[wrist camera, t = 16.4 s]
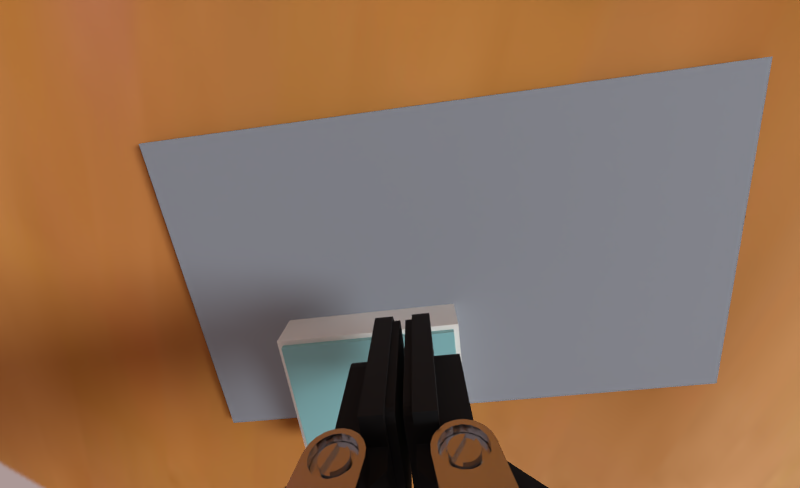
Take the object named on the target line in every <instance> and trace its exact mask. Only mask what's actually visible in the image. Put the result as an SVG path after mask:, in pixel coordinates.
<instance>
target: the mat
mask: <svg viewBox="0 0 800 488" xmlns="http://www.w3.org/2000/svg"><path fill="white" fill-rule="evenodd" d="M771 62H772V57H766V58H759V59H751V60H744V61H737V62H730V63H722V64H715V65H708V66H701V67H693V68H686V69H679V70H672V71H664V72H657V73H650V74H643V75H635V76H628V77H621V78H614V79H606V80H599V81H592V82H584V83H577V84H570V85H563V86H555V87H548V88H541V89H534V90H526V91H519V92H512V93H505V94H497V95H490V96H483V97H476V98H468V99H461V100H454V101H447V102H439V103H432V104H425V105H418V106H410V107H403V108H396V109H389V110H381V111H374V112H367V113H360V114H352V115H345V116H338V117H331V118H323V119H316V120H309V121H302V122H294V123H287V124H280V125H273V126H265V127H258V128H251V129H244V130H236V131H229V132H222V133H215V134H207V135H200V136H193V137H186V138H178V139H171V140H164V141H157V142H149V143H142V144H139V146H140V149H141V152H142V155H143V158H144V161H145V164H146V167H147V170H148V172H149V175H150V178H151V181H152V184H153V187H154V190H155V193H156V196H157V199H158V202H159V205H160V208H161V211H162V214H163V217H164V219H165V222H166V225H167V228H168V231H169V234H170V237H171V240H172V243H173V246H174V249H175V252H176V255H177V258H178V261H179V264H180V266H181V269H182V272H183V275H184V278H185V281H186V284H187V287H188V290H189V293H190V296H191V299H192V302H193V305H194V308H195V311H196V313H197V316H198V319H199V322H200V325H201V328H202V331H203V334H204V337H205V340H206V343H207V346H208V349H209V352H210V355H211V358H212V360H213V363H214V366H215V369H216V372H217V375H218V378H219V381H220V384H221V387H222V390H223V393H224V396H225V399H226V402H227V405H228V408H229V410H230V413H231V416H232V419H233V422H234V423H237V422H249V421H261V420H273V419H285V418H297V414H296V411H295V407H294V403H293V400H292V396H291V392H290V388H289V385H288V381H287V377H286V374H285V370H284V366H283V363H282V359H281V355H280V352H279V348H278V344H277V340H278V339H279V337H280V336H281V334H282V332H283V331H284V329H285V327H286V326H287V324H288V322H289V321H290V320H298V319H308V318H318V317H327V316H337V315H347V314H357V313H367V312H377V311H387V310H397V309H407V308H417V307H427V306H436V305H446V304H454V307H455V312H456V316H457V320H458V326H459V337H460V348H461V359H462V367H463V372H464V377H465V382H466V387H467V392H468V397H469V402H470V403H480V402H493V401H505V400H517V399H529V398H541V397H554V396H566V395H578V394H590V393H602V392H615V391H627V390H639V389H651V388H663V387H676V386H688V385H700V384H712V383H717V377H718V371H719V365H720V359H721V354H722V348H723V342H724V336H725V330H726V324H727V319H728V313H729V307H730V301H731V295H732V289H733V284H734V278H735V272H736V266H737V260H738V254H739V249H740V243H741V237H742V231H743V225H744V219H745V214H746V208H747V202H748V196H749V190H750V184H751V179H752V173H753V167H754V161H755V155H756V149H757V144H758V138H759V132H760V126H761V120H762V114H763V109H764V103H765V97H766V91H767V85H768V79H769V74H770V68H771Z"/></svg>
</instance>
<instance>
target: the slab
mask: <svg viewBox="0 0 800 488" xmlns="http://www.w3.org/2000/svg"><path fill="white" fill-rule="evenodd" d="M422 313H429V315H430V323H431V332H432V341H433V350H434V356H438V355H449V354H460V357H461V348H460V337H459V326H458V320H457V316H456V312H455V307H454V304H446V305H436V306H427V307H417V308H407V309H397V310H387V311H377V312H367V313H357V314H347V315H337V316H327V317H318V318H308V319H298V320H290V321H289V322H288V324H287V326H286V327H285V329H284V331H283V332H282V334H281V336H280V337H279V339H278V340H277V344H278V348H279V352H280V355H281V359H282V363H283V366H284V370H285V374H286V377H287V381H288V385H289V388H290V392H291V396H292V400H293V403H294V407H295V411H296V414H297V418H298V422H299V425H300V429H301V433H302V436H303V440H304V444H305V448H306V447H307V446H308V444H309V443H310V442H311V441H313V440H314V439H315V438H316V437H317V436H319V435H321V434H322V433H324V432H327V431H330V430H333V429H335V427H336V423H337V418H338V414H339V410H340V406H341V402H342V398H343V394H344V390H345V386H346V382H347V378H348V374H349V369H350V366H351V364H352V363H359V362H367V360H368V354H369V349H370V343H371V338H372V332H373V327H374V321H375V318H381V317H391V316H393V318H394V321H399V320H400V322H401V328H402V335H403V342H404V346H405V320H409V319H412V314H422ZM461 362H462V359H461Z"/></svg>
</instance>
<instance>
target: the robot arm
mask: <svg viewBox="0 0 800 488" xmlns="http://www.w3.org/2000/svg"><path fill="white" fill-rule="evenodd" d="M412 478H413V484H414V488H548V487H546V486H545V485H543V484H542V483H540V482H538V481H537V480H535V479H534V478H532V477H531V476H529V475H528V474H526V473H525V472H523V471H522V470H520V469H518V468H517V467H515V466H514V465H512V464H511V463H509V462H508V461H507V460H506V458H505V456H504V454H503V451H502V449H501V447H500V445H499V443H498V440H497V438H496V437H495V435H494V434H493V432H492V431H491V430H490V429H489V428H487V427H486V426H485V425H483V424H481V423H479V422H477V421H474V420H473V417H472V412H471V407H470V402H469V397H468V392H467V387H466V382H465V377H464V372H463V367H462V362H461V357H460V354H449V355H438V356H434V350H433V341H432V332H431V323H430V315H429V313H422V314H412V319H409V320H405V346H404V342H403V335H402V328H401V322H400V320H399V321H394V318H393V316H391V317H381V318H375V321H374V327H373V332H372V338H371V343H370V349H369V354H368V360H367V362H359V363H352V364H351V366H350V369H349V374H348V378H347V382H346V386H345V390H344V394H343V398H342V402H341V406H340V410H339V414H338V418H337V423H336V427H335V429H333V430H330V431H327V432H324V433H322V434H321V435H319V436H317V437H316V438H315V439H314V440H313V441H311V442H310V443H309V444H308V446H307V447H306V449H305V450H304V452H303V453H302V455H301V457H300V459H299V461H298V464H297V466H296V468H295V470H294V472H293V474H292V476H291V478H290V480H289V482H288V484H287V486H286V487H285V488H412Z"/></svg>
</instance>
